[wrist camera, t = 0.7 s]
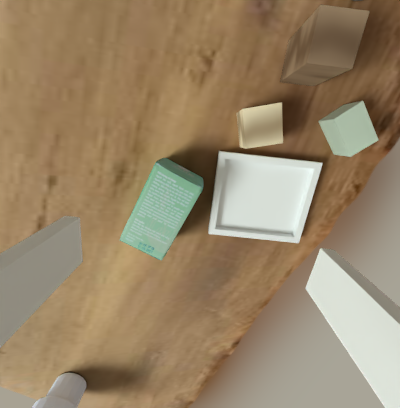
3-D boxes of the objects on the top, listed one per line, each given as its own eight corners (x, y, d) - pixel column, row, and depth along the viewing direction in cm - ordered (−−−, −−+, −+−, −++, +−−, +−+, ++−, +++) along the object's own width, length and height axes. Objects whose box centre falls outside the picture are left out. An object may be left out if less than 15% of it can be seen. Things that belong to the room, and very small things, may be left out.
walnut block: (288, 40, 28) (320, 4, 20) (324, 45, 28) (369, 10, 20) (279, 82, 29) (306, 63, 22) (313, 86, 29) (352, 68, 22)
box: (205, 176, 34) (205, 186, 27) (170, 239, 38) (162, 262, 31) (165, 154, 33) (154, 160, 26) (134, 221, 37) (117, 241, 30)
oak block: (236, 113, 31) (242, 109, 26) (269, 107, 30) (281, 102, 26) (239, 146, 32) (245, 148, 27) (271, 141, 32) (282, 142, 27)
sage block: (317, 121, 31) (333, 119, 27) (342, 104, 30) (363, 100, 26) (333, 154, 32) (350, 156, 29) (357, 139, 32) (378, 140, 28)
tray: (218, 150, 32) (219, 151, 31) (316, 161, 33) (322, 163, 31) (208, 229, 37) (208, 233, 35) (294, 238, 37) (298, 243, 35)
